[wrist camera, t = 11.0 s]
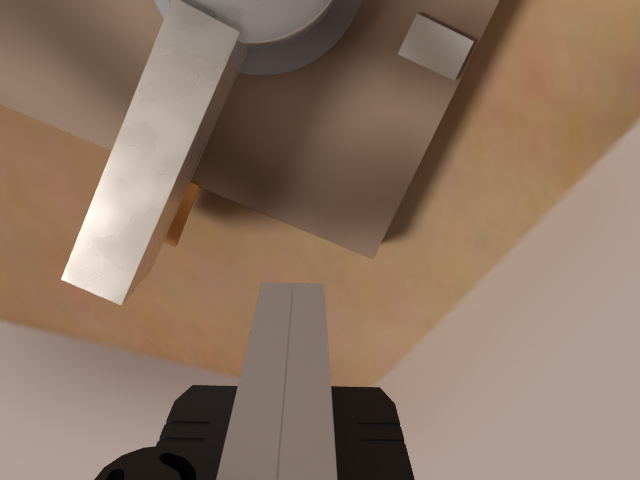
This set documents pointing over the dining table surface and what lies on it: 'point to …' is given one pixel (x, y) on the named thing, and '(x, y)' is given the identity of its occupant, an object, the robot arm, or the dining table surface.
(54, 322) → the dining table surface
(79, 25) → the mount
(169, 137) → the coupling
